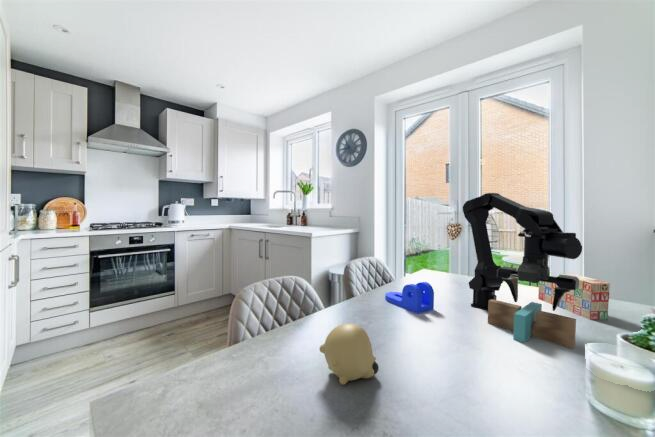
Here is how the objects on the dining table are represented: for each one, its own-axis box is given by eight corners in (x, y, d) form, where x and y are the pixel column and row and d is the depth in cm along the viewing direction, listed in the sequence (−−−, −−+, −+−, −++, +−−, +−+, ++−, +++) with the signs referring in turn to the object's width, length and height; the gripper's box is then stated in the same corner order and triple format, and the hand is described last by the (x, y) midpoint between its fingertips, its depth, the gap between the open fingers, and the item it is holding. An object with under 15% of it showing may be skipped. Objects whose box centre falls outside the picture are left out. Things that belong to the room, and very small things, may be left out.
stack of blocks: (537, 299, 111) (538, 268, 111) (552, 299, 111) (553, 268, 111) (590, 320, 90) (591, 282, 89) (608, 320, 90) (610, 282, 90)
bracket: (433, 309, 97) (434, 284, 97) (417, 314, 93) (417, 287, 93) (396, 295, 113) (396, 273, 112) (380, 298, 108) (381, 276, 108)
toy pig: (361, 407, 53) (397, 362, 56) (325, 371, 49) (364, 325, 52) (339, 377, 62) (370, 340, 65) (306, 344, 58) (341, 307, 61)
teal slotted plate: (530, 324, 85) (531, 301, 85) (540, 327, 83) (541, 304, 83) (513, 339, 75) (514, 313, 75) (524, 342, 73) (525, 316, 73)
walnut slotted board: (487, 323, 86) (488, 300, 85) (490, 321, 87) (491, 299, 87) (573, 348, 70) (574, 321, 70) (575, 345, 72) (576, 318, 72)
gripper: (490, 251, 83) (488, 303, 84) (572, 260, 69) (569, 323, 69) (503, 248, 90) (502, 296, 91) (580, 256, 76) (578, 313, 76)
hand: (534, 306), depth 82 cm, fingers open, 9 cm apart
